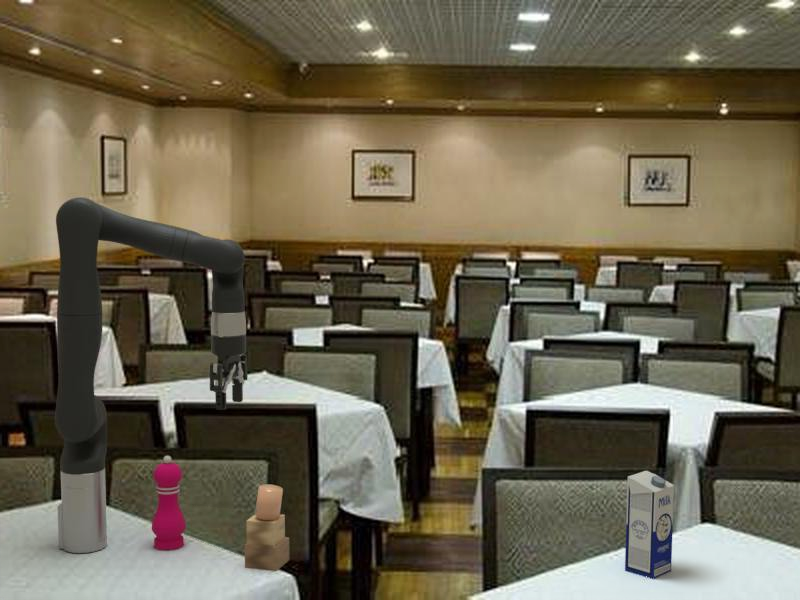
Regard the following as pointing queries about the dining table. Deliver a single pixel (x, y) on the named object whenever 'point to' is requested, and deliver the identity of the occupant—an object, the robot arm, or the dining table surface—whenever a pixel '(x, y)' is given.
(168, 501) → the pepper mill
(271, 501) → the rounded stamp handle
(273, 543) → the tower top
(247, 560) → the tower base
